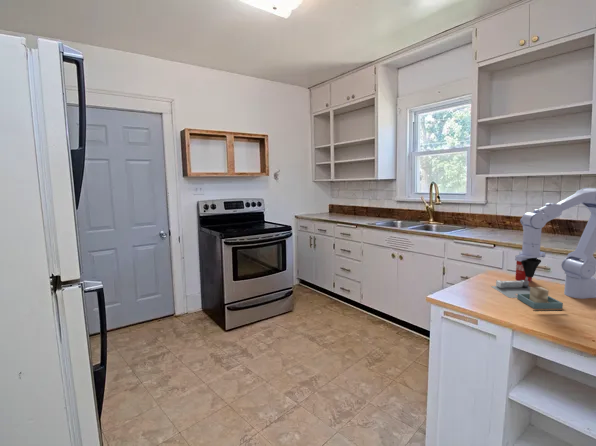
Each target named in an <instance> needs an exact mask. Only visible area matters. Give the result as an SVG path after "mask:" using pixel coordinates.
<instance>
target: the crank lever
mask: <svg viewBox="0 0 596 446" xmlns="http://www.w3.org/2000/svg"><path fill="white" fill-rule="evenodd" d="M529 284H530V282H529V281H527V280H520V281H517V280H496V281H495V286H497V287H499V288H528V286H529Z"/></svg>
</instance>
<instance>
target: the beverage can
mask: <svg viewBox="0 0 596 446" xmlns="http://www.w3.org/2000/svg"><path fill="white" fill-rule="evenodd" d="M515 264H516V265H515V281H520V280H527V281H529V283H531V282H532V281H533V277H527V276H526V275H525V271H524V268H523V265H522V263H521V262H520V261H516V263H515Z"/></svg>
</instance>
